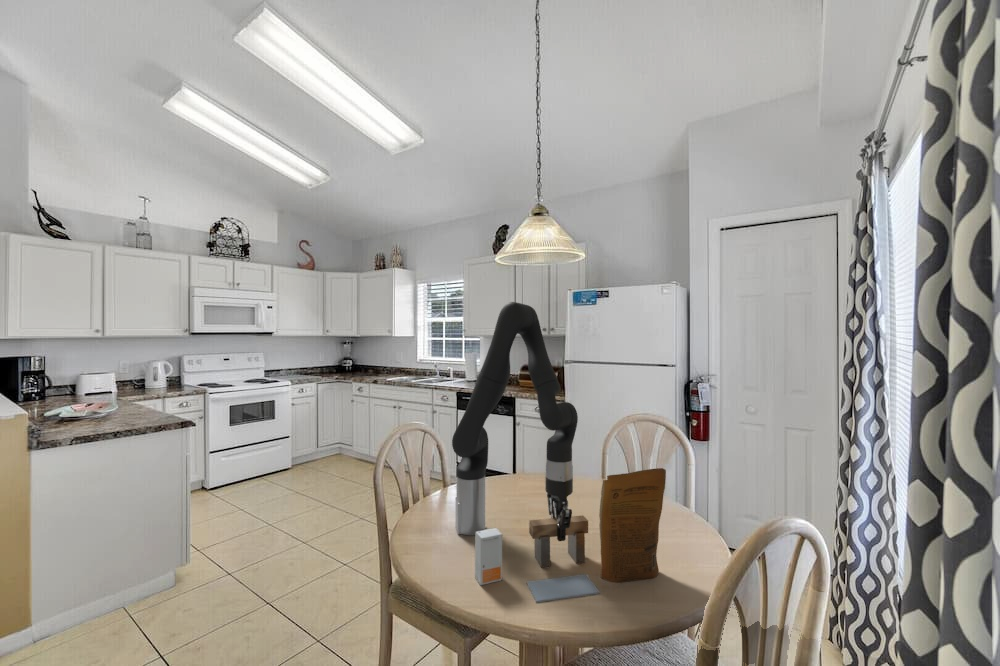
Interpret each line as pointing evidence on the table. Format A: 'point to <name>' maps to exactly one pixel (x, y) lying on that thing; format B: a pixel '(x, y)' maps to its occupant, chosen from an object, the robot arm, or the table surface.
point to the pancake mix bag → (631, 524)
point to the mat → (562, 588)
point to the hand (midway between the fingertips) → (558, 536)
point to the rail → (550, 526)
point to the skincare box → (488, 556)
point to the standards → (574, 549)
